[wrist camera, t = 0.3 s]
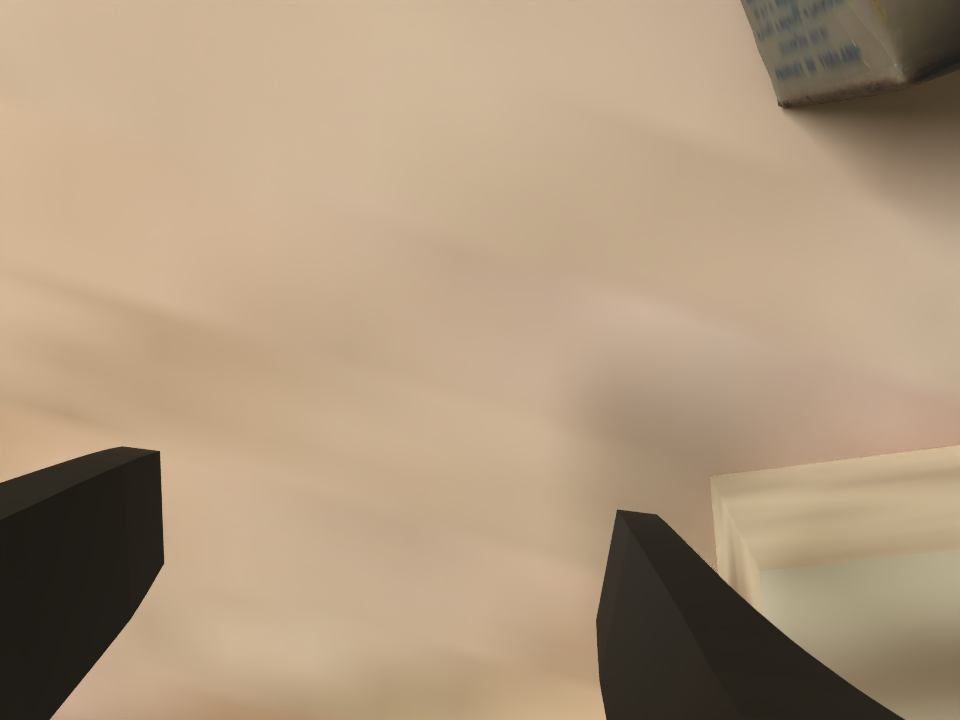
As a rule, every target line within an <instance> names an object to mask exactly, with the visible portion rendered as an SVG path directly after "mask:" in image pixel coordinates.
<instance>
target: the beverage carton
mask: <svg viewBox="0 0 960 720" xmlns="http://www.w3.org/2000/svg"><path fill="white" fill-rule="evenodd" d="M741 2H742V5H743V8H744V10H745V13H746V15H747V18H748V20H749V23H750V25H751V28H752V30H753V34H754V37H755V40H756V44H757V47H758V50H759V53H760V55H761V57H762V59H763V62H764V64H765V66H766V68H767V70H768V73H769V75H770V78H771V81H772V84H773V87H774V90H775V93H776V96H777V101H778V106H781V107H784V108H788V107H796V106H807V105H813V104H819V103H827V102H835V101H841V100H847V99H854V98H861V97H868V96H873V95H878V94H883V93H888V92H892V91H897V90H901V89H904V88H907V87H911V86H914V85H917V84H920V83H923V82H926V81H929V80H932V79H935V78H937V77H940V76H943V75H946V74H949V73H951V72H953V71H956V70H958V69H960V0H741Z"/></svg>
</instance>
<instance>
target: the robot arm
mask: <svg viewBox="0 0 960 720" xmlns="http://www.w3.org/2000/svg"><path fill="white" fill-rule="evenodd" d="M163 565H164V546H163V520H162V493H161V467H160V451H154V450H146V449H138V448H131V447H123V446H122V447H117V448H112V449H107V450H103V451H99V452H96V453H92V454H88V455H85V456H82V457H78V458H75V459H72V460H69V461H66V462H63V463H60V464H56V465H53V466H50V467H47V468H44V469H41V470H38V471H35V472H32V473H29V474H26V475H23V476H20V477H17V478H14V479H11V480H8V481H5V482H2V483H0V720H50V718H51V717H52V716H53V715H54V714H55V712H56V711H57V710H58V709H59V707H60V706H61V705H62V704H63V702H64V701H65V700H66V699H67V698H68V696H69V695H70V694H71V693H72V691H73V690H74V689H75V688H76V687H77V685H78V684H79V683H80V682H81V680H82V679H83V678H84V677H85V676H86V674H87V673H88V672H89V671H90V669H91V668H92V667H93V666H94V664H95V663H96V662H97V661H98V660H99V658H100V657H101V656H102V655H103V653H104V652H105V651H106V650H107V648H108V647H109V646H110V644H111V643H112V642H113V641H114V639H115V638H116V637H117V636H118V634H119V633H120V632H121V631H122V629H123V628H124V627H125V626H126V624H127V623H128V622H129V620H130V619H131V618H132V616H133V615H134V613H135V611H136V610H137V608H138V607H139V605H140V603H141V602H142V600H143V599H144V597H145V595H146V594H147V592H148V590H149V589H150V587H151V585H152V584H153V582H154V580H155V578H156V577H157V575H158V573H159V571H160V570H161V568H162V566H163ZM596 627H597V647H598V664H599V679H600V686H601V692H602V697H603V703H604V708H605V714H606V719H607V720H905V719H903V718H902V717H900V716H899V715H897V714H895V713H894V712H892V711H891V710H889V709H887V708H886V707H884V706H883V705H881V704H880V703H878V702H877V701H875V700H874V699H872V698H871V697H869V696H868V695H866V694H865V693H863V692H862V691H860V690H859V689H857V688H856V687H854V686H853V685H851V684H850V683H849V682H847V681H846V680H845V679H843V678H842V677H840V676H839V675H838V674H836V673H835V672H834V671H832V670H831V669H830V668H828V667H827V666H825V665H824V664H823V663H821V662H820V661H819V660H817V659H816V658H814V657H813V656H812V655H810V654H809V653H808V652H806V651H805V650H804V649H803V648H801V647H800V646H799V645H798V644H796V643H795V642H794V641H792V640H791V639H790V638H789V637H788V636H786V635H785V634H784V633H783V632H782V631H780V630H779V629H778V628H777V627H776V626H775V625H773V624H772V623H771V622H770V621H769V620H768V619H766V618H765V617H764V616H763V615H762V614H760V613H759V612H758V611H757V610H756V609H755V608H754V607H752V606H751V605H750V604H749V603H748V602H747V601H746V600H745V599H744V598H743V597H741V596H740V595H739V594H738V593H737V592H736V591H735V590H734V589H733V588H732V587H731V586H730V585H729V584H727V583H726V582H725V581H724V580H723V579H722V578H721V577H720V576H719V575H718V574H717V573H716V572H715V571H714V570H713V569H712V568H711V567H710V566H709V565H708V564H707V563H706V562H705V561H704V560H703V559H702V558H701V557H700V556H699V555H698V554H697V553H696V552H695V551H694V550H693V549H692V548H691V547H690V546H689V545H688V544H687V543H686V542H685V541H684V540H683V539H682V538H681V537H680V536H679V535H678V534H677V533H676V532H675V531H674V530H673V529H672V528H671V527H670V526H669V525H668V524H667V523H666V522H665V521H664V520H662V519H661V518H660V517H659V516H658V515H656V514H648V513H640V512H632V511H624V510H617V513H616V519H615V524H614V529H613V534H612V540H611V545H610V550H609V556H608V561H607V566H606V571H605V577H604V582H603V587H602V593H601V598H600V603H599V608H598V614H597V619H596Z"/></svg>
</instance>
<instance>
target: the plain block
mask: <svg viewBox="0 0 960 720" xmlns="http://www.w3.org/2000/svg"><path fill="white" fill-rule="evenodd" d="M710 485H711V496H712V508H713V519H714V531H715V542H716V553H717V565H718V575H719V576H720V577H721V578H722V579H723V580H724V581H725V582H726V583H727V584H729V585H730V586H731V587H732V588H733V589H734V590H735V591H736V592H737V593H738V594H739V595H740V596H741V597H743V598H744V599H745V600H746V601H747V602H748V603H749V604H750V605H751V606H752V607H754V608H755V609H756V610H757V611H758V612H759V613H760V614H762V615H763V616H764V617H765V618H766V619H768V620H769V621H770V622H771V623H772V624H773V625H775V626H776V627H777V628H778V629H779V630H780V631H782V632H783V633H784V634H785V635H786V636H788V637H789V638H790V639H791V640H792V641H794V642H795V643H796V644H798V645H799V646H800V647H801V648H803V649H804V650H805V651H806V652H808V653H809V654H810V655H812V656H813V657H814V658H816V659H817V660H819V661H820V662H821V663H823V664H824V665H825V666H827V667H828V668H830V669H831V670H832V671H834V672H835V673H836V674H838V675H839V676H840V677H842V678H843V679H845V680H846V681H847V682H849V683H850V684H851V685H853V686H854V687H856V688H857V689H859V690H860V691H862V692H863V693H865V694H866V695H868V696H869V697H871V698H872V699H874V700H875V701H877V702H878V703H880V704H881V705H883V706H884V707H886V708H887V709H889V710H891V711H892V712H894V713H895V714H897V715H899V716H900V717H902V718H903V719H905V720H960V445H956V446H948V447H940V448H932V449H924V450H916V451H908V452H900V453H892V454H884V455H876V456H868V457H860V458H852V459H844V460H836V461H828V462H820V463H812V464H804V465H796V466H788V467H780V468H772V469H764V470H756V471H748V472H740V473H732V474H724V475H716V476H710Z"/></svg>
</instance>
